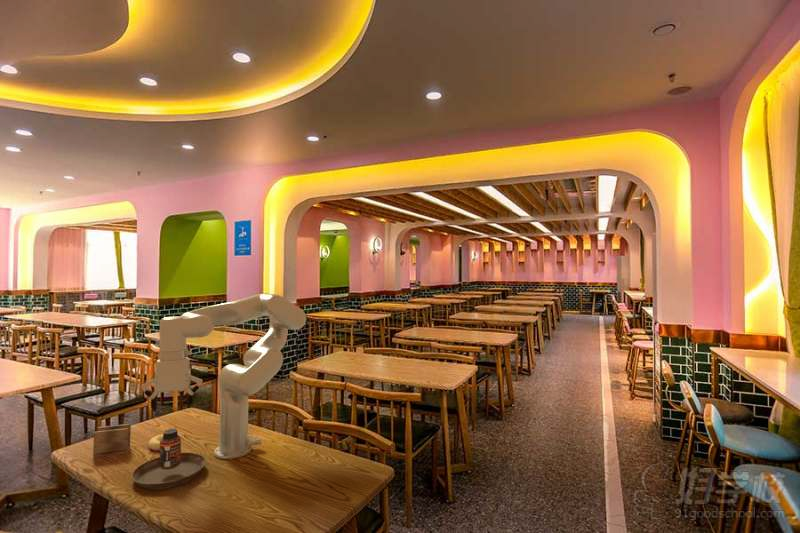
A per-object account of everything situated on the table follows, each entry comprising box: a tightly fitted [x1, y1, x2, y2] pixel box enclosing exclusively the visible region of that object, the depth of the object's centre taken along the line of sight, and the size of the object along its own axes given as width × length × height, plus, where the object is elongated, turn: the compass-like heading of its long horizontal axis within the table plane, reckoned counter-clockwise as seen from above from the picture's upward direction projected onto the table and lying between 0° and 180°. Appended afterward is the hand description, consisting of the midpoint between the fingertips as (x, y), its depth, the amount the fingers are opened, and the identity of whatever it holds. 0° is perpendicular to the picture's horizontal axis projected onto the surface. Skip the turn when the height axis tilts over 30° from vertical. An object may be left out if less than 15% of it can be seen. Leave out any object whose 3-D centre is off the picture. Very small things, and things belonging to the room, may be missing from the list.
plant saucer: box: [131, 452, 207, 490], centre depth 132 cm, size 21×21×3 cm
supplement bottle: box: [159, 428, 182, 470], centre depth 132 cm, size 6×6×11 cm
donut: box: [148, 433, 163, 452], centre depth 153 cm, size 10×5×9 cm
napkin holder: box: [92, 423, 132, 458], centre depth 147 cm, size 10×5×9 cm, turn 113°
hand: (172, 408), depth 133 cm, fingers open, 9 cm apart
